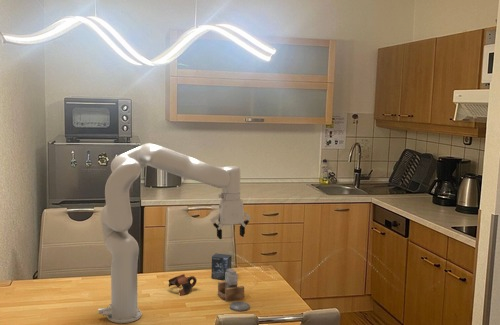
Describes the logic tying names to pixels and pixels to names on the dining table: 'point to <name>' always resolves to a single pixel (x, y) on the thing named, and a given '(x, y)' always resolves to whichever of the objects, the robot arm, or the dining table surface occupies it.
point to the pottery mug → (183, 283)
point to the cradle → (230, 292)
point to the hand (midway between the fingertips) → (230, 237)
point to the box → (220, 265)
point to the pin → (231, 278)
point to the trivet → (239, 306)
